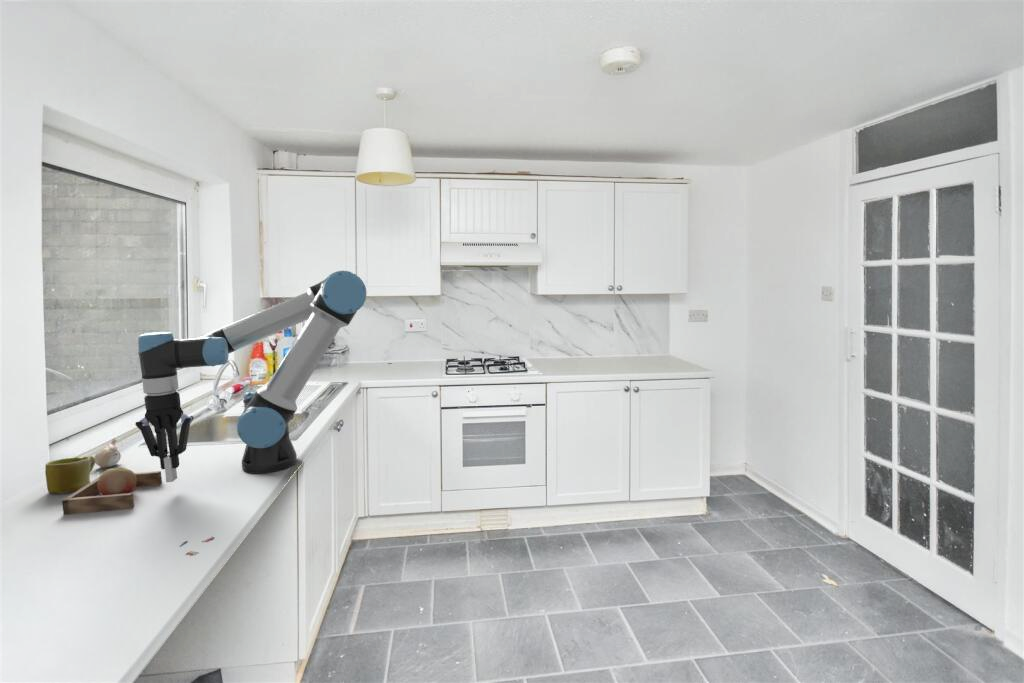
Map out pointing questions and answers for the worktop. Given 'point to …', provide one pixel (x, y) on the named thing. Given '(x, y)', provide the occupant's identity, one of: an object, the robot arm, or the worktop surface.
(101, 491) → the fruit
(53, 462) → the mug
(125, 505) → the wooden frame
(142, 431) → the robot arm
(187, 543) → the worktop surface
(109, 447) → the garlic bulb
